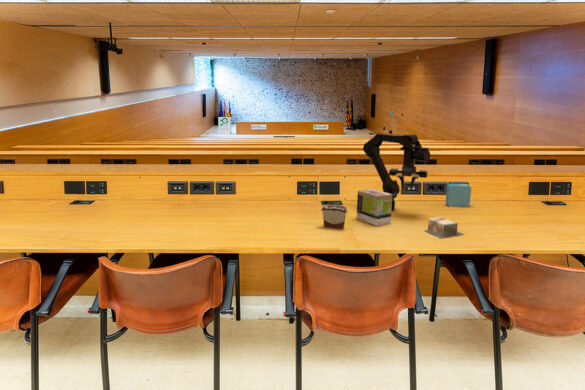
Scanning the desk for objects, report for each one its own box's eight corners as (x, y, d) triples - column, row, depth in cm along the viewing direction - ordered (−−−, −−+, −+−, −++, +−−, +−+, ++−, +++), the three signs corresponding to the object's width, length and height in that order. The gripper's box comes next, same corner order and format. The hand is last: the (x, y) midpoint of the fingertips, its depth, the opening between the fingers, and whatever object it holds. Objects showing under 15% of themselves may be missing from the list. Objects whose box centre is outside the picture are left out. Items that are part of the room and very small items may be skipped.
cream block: (428, 218, 208) (445, 225, 198) (440, 216, 211) (457, 223, 201) (427, 228, 209) (444, 236, 199) (439, 227, 212) (456, 234, 202)
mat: (424, 231, 207) (424, 230, 207) (446, 227, 212) (446, 226, 212) (441, 238, 197) (441, 237, 197) (463, 234, 203) (463, 233, 202)
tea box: (391, 223, 218) (393, 193, 215) (375, 226, 213) (377, 196, 210) (371, 215, 231) (372, 187, 227) (355, 218, 226) (356, 189, 222)
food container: (349, 226, 214) (350, 205, 211) (346, 230, 208) (347, 209, 206) (324, 223, 218) (324, 203, 215) (320, 227, 212) (321, 206, 210)
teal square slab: (467, 204, 253) (469, 184, 250) (469, 207, 248) (471, 185, 245) (445, 204, 253) (447, 183, 250) (447, 206, 249) (449, 185, 246)
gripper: (387, 160, 224) (386, 191, 228) (426, 162, 217) (424, 194, 221) (391, 157, 234) (389, 186, 238) (428, 159, 227) (426, 189, 231)
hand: (407, 189), depth 232 cm, fingers open, 3 cm apart
